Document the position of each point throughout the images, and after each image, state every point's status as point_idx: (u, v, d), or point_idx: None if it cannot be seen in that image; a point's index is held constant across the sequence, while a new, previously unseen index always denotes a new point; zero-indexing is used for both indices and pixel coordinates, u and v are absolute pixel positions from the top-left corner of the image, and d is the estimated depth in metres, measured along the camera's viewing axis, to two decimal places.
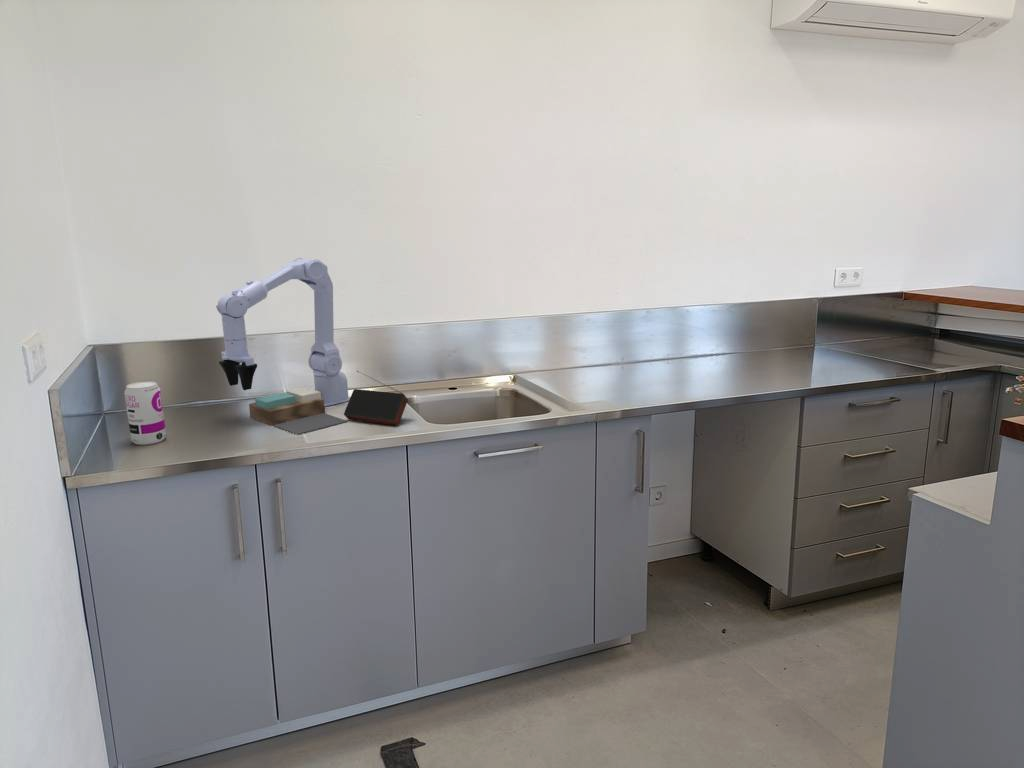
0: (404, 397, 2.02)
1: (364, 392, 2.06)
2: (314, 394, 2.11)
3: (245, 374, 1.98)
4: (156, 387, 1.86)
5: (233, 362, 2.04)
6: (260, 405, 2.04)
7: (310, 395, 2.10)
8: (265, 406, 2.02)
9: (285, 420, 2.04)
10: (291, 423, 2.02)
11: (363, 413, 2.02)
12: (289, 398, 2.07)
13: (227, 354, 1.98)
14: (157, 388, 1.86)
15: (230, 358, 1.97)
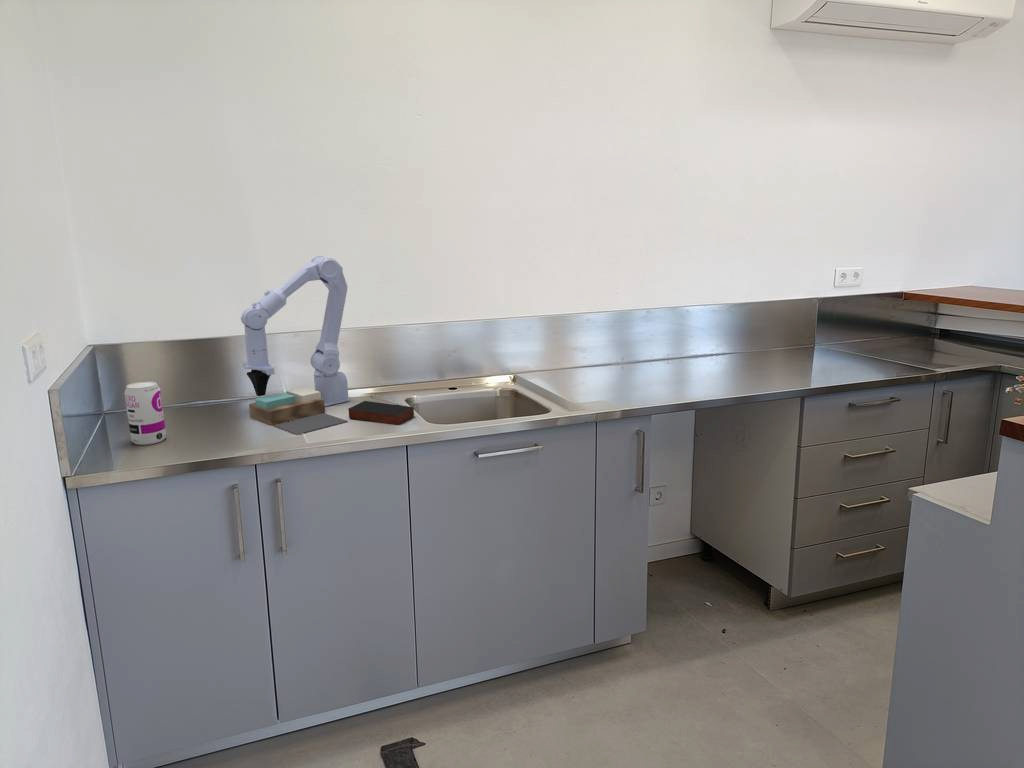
0: (412, 409, 2.07)
1: (374, 402, 2.11)
2: (314, 394, 2.11)
3: (259, 381, 2.11)
4: (156, 387, 1.86)
5: None
6: (260, 405, 2.04)
7: (310, 395, 2.10)
8: (265, 406, 2.02)
9: (285, 420, 2.04)
10: (291, 423, 2.02)
11: (368, 410, 2.05)
12: (289, 398, 2.07)
13: (249, 364, 2.08)
14: (157, 388, 1.86)
15: (252, 368, 2.07)
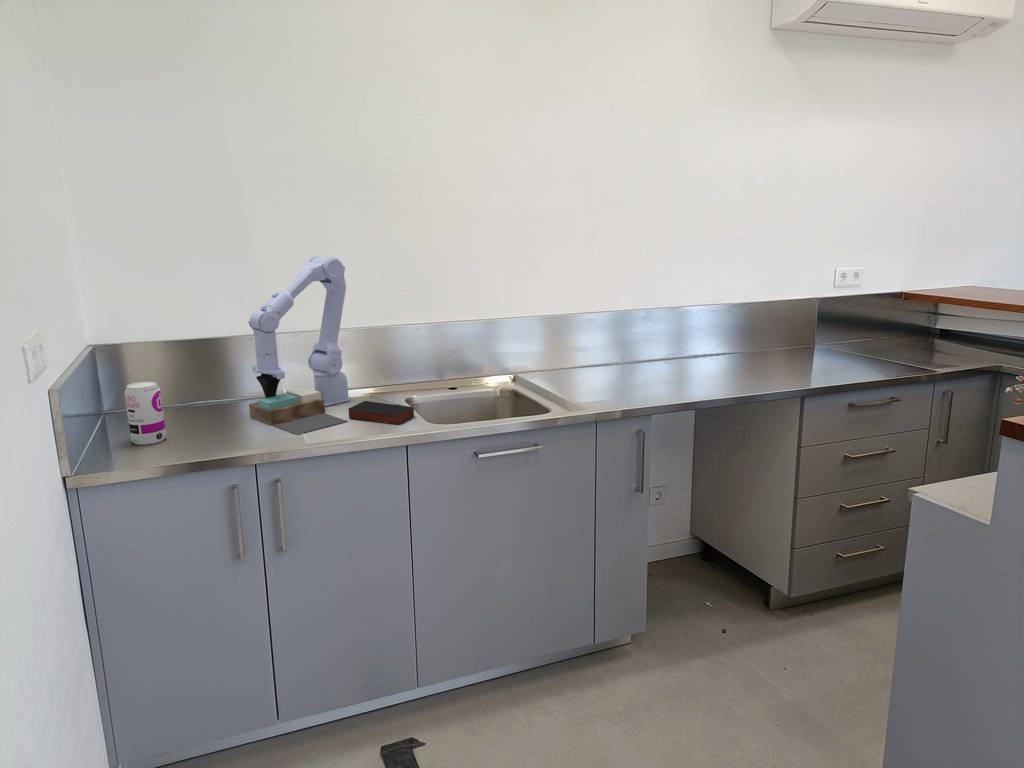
0: (412, 409, 2.07)
1: (374, 402, 2.11)
2: (314, 394, 2.11)
3: (269, 385, 2.07)
4: (156, 387, 1.86)
5: None
6: (263, 406, 2.03)
7: (310, 395, 2.10)
8: (268, 407, 2.02)
9: (285, 420, 2.04)
10: (291, 423, 2.02)
11: (368, 410, 2.05)
12: (292, 399, 2.06)
13: (259, 368, 2.04)
14: (157, 388, 1.86)
15: (262, 372, 2.04)
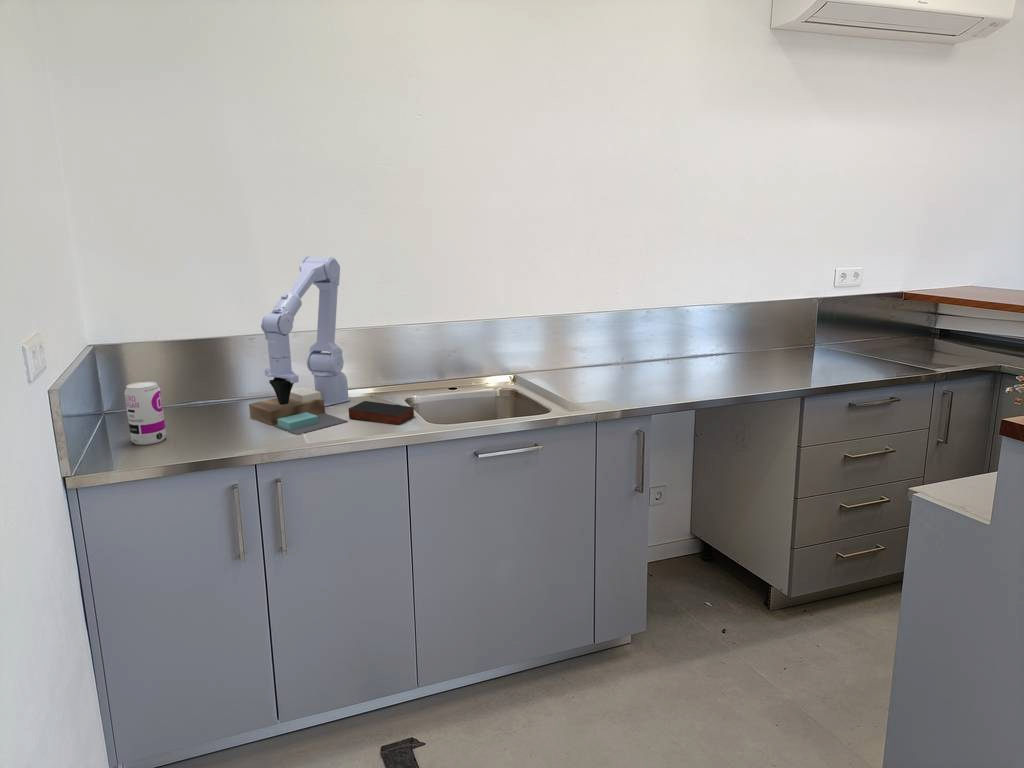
0: (412, 409, 2.07)
1: (374, 402, 2.11)
2: (314, 394, 2.11)
3: (282, 389, 2.02)
4: (156, 387, 1.86)
5: None
6: (283, 423, 1.97)
7: (310, 395, 2.10)
8: (278, 421, 1.99)
9: None
10: None
11: (368, 410, 2.05)
12: None
13: (272, 371, 2.00)
14: (157, 388, 1.86)
15: (275, 375, 1.99)
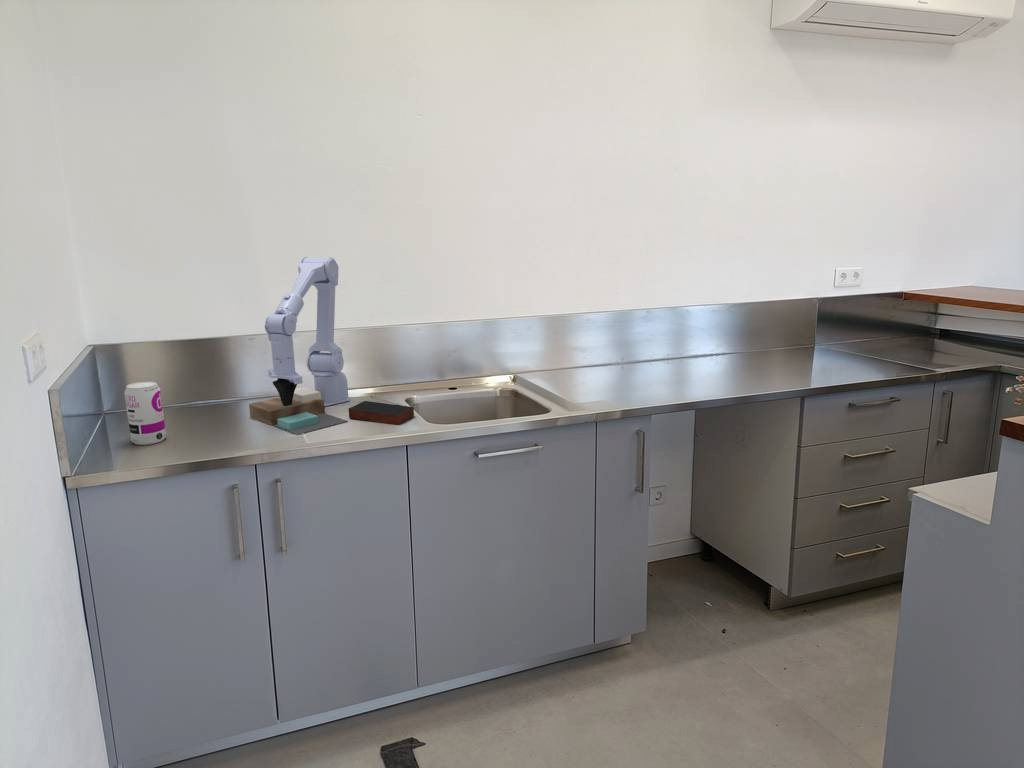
0: (412, 409, 2.07)
1: (374, 402, 2.11)
2: (314, 394, 2.11)
3: (286, 390, 2.01)
4: (156, 387, 1.86)
5: None
6: (283, 423, 1.97)
7: (310, 395, 2.10)
8: (278, 421, 1.99)
9: None
10: None
11: (368, 410, 2.05)
12: None
13: (275, 372, 1.98)
14: (157, 388, 1.86)
15: (278, 376, 1.98)
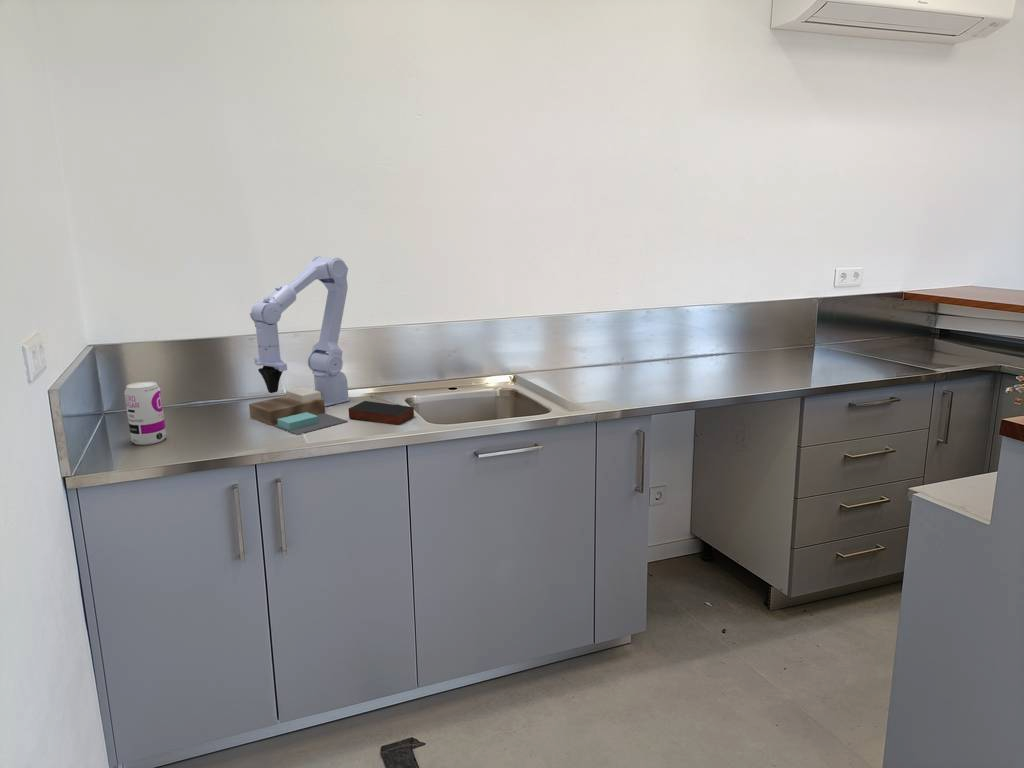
0: (412, 409, 2.07)
1: (374, 402, 2.11)
2: (314, 394, 2.11)
3: (271, 378, 2.06)
4: (156, 387, 1.86)
5: None
6: (283, 423, 1.97)
7: (310, 395, 2.10)
8: (278, 421, 1.99)
9: None
10: None
11: (368, 410, 2.05)
12: None
13: (261, 360, 2.03)
14: (157, 388, 1.86)
15: (264, 364, 2.02)
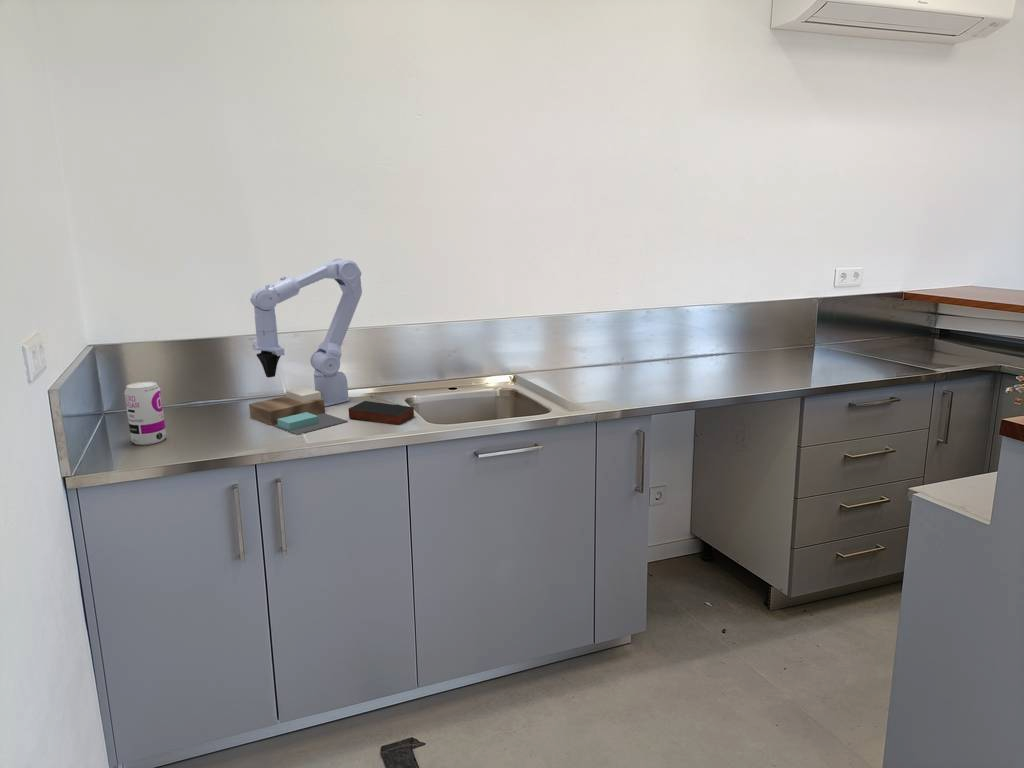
0: (412, 409, 2.07)
1: (374, 402, 2.11)
2: (314, 394, 2.11)
3: (269, 362, 2.11)
4: (156, 387, 1.86)
5: None
6: (283, 423, 1.97)
7: (310, 395, 2.10)
8: (278, 421, 1.99)
9: None
10: None
11: (368, 410, 2.05)
12: None
13: (259, 345, 2.08)
14: (157, 388, 1.86)
15: (262, 349, 2.08)
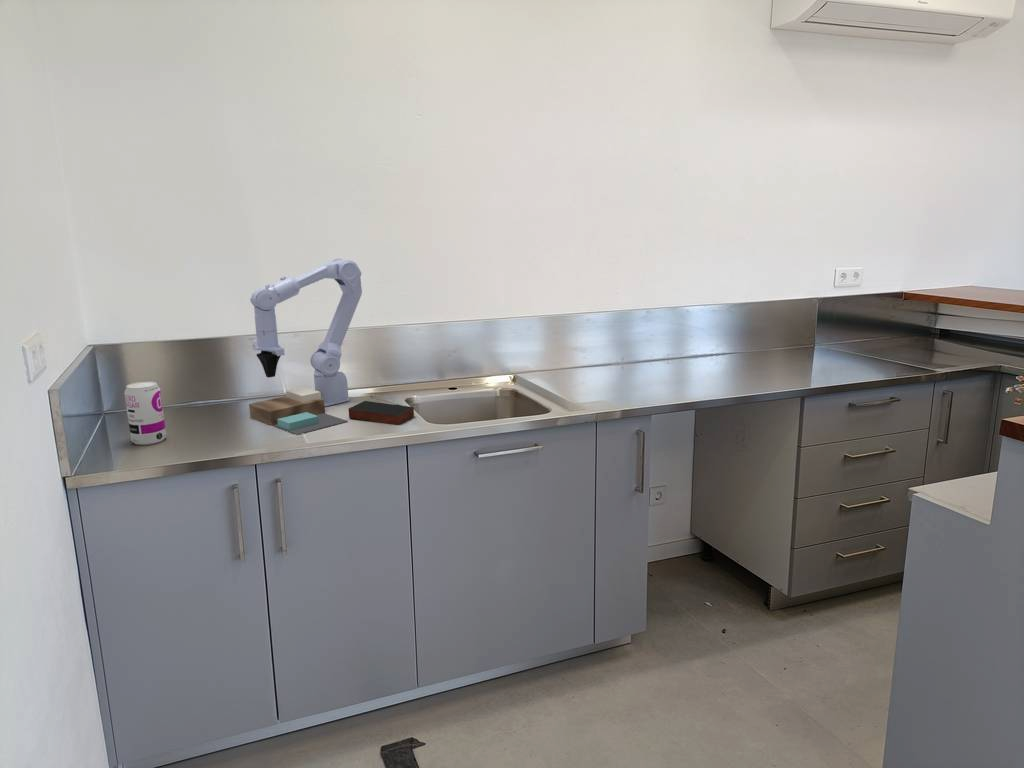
0: (412, 409, 2.07)
1: (374, 402, 2.11)
2: (314, 394, 2.11)
3: (269, 362, 2.11)
4: (156, 387, 1.86)
5: None
6: (283, 423, 1.97)
7: (310, 395, 2.10)
8: (278, 421, 1.99)
9: None
10: None
11: (368, 410, 2.05)
12: None
13: (259, 345, 2.08)
14: (157, 388, 1.86)
15: (262, 349, 2.08)
